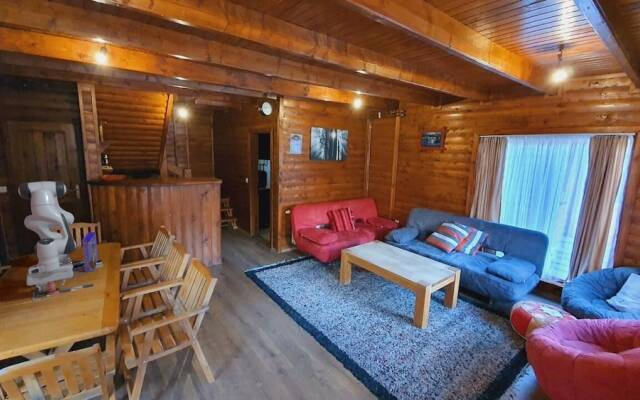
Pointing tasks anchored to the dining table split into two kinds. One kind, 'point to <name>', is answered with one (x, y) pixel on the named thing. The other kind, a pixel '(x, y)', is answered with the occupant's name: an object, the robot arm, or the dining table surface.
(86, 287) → the track board
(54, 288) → the pawn
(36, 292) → the dice tray
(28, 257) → the dining table surface
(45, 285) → the die
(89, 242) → the cereal box
